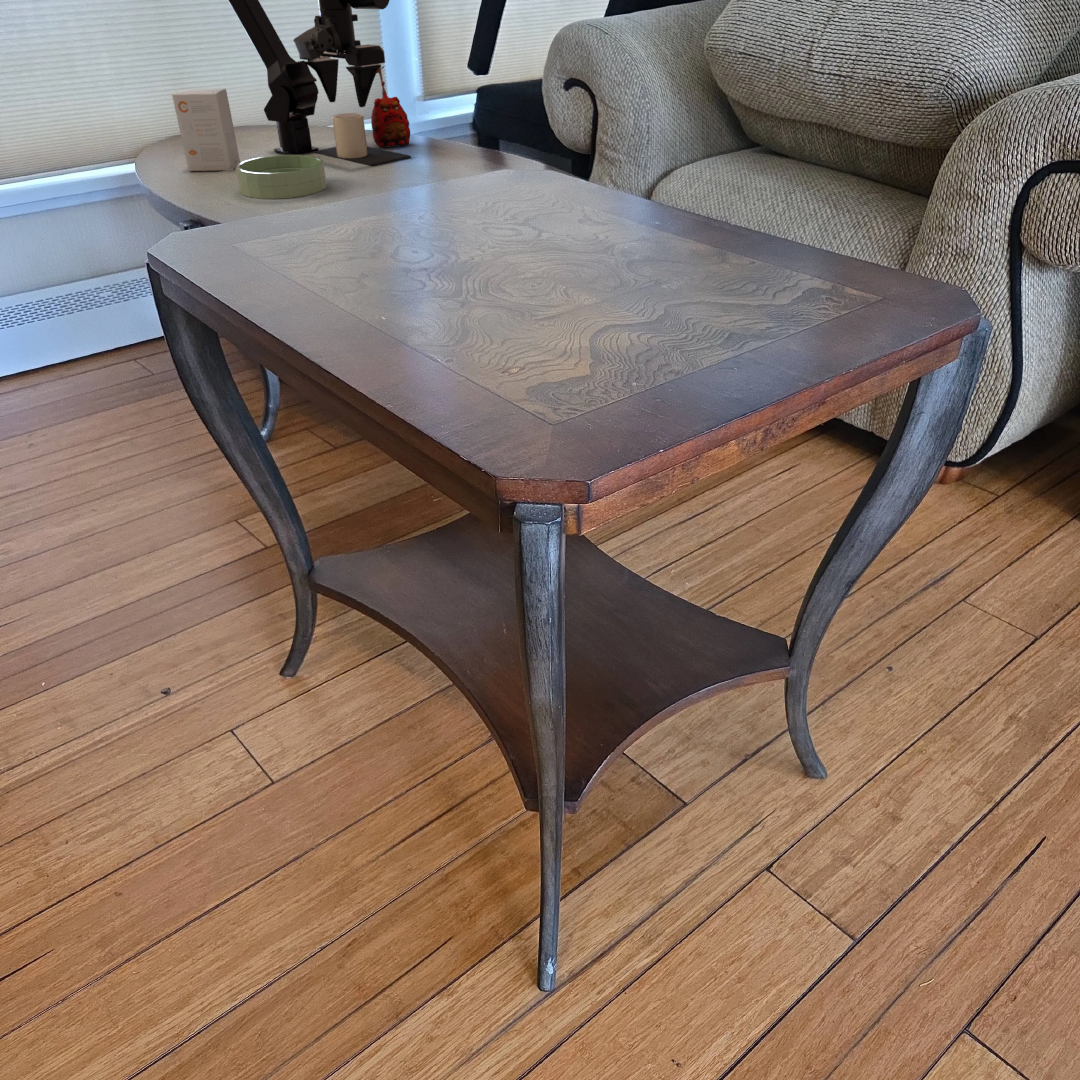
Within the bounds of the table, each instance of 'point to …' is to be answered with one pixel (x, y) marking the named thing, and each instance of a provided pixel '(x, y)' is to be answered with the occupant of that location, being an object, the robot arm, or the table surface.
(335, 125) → the cup
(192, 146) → the small box
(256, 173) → the bowl
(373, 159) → the mat
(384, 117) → the red clay folk toy
